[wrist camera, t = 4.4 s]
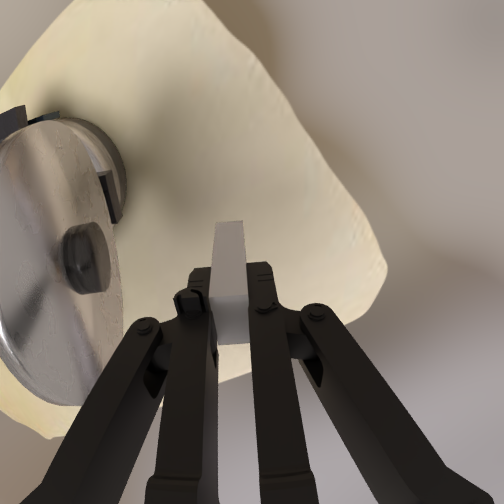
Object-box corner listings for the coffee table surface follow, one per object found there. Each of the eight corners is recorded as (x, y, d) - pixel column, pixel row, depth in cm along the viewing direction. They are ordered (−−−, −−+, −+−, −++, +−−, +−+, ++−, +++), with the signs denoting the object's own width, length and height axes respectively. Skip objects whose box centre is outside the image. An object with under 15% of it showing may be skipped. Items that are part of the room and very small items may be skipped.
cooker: (44, 260, 42) (9, 307, 31) (4, 120, 30) (-51, 141, 19) (158, 249, 42) (137, 304, 32) (127, 78, 30) (83, 79, 20)
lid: (83, 456, 14) (134, 457, 15) (-93, 184, 5) (-39, 149, 5) (115, 282, 31) (147, 277, 31) (71, 113, 22) (108, 102, 22)
